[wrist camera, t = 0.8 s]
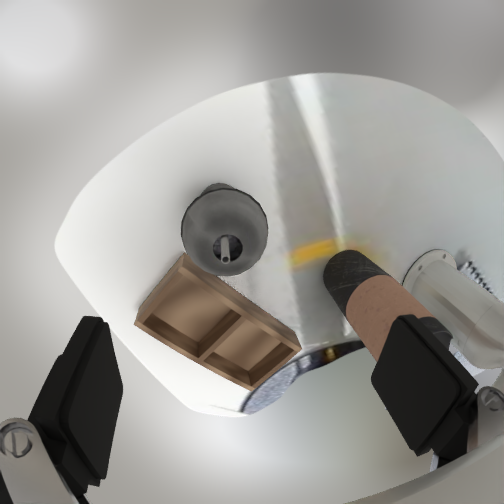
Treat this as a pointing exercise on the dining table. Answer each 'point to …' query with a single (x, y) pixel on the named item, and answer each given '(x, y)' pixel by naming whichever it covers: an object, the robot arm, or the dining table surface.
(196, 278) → the tray
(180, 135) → the dining table surface
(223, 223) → the beverage cup
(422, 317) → the travel mug
